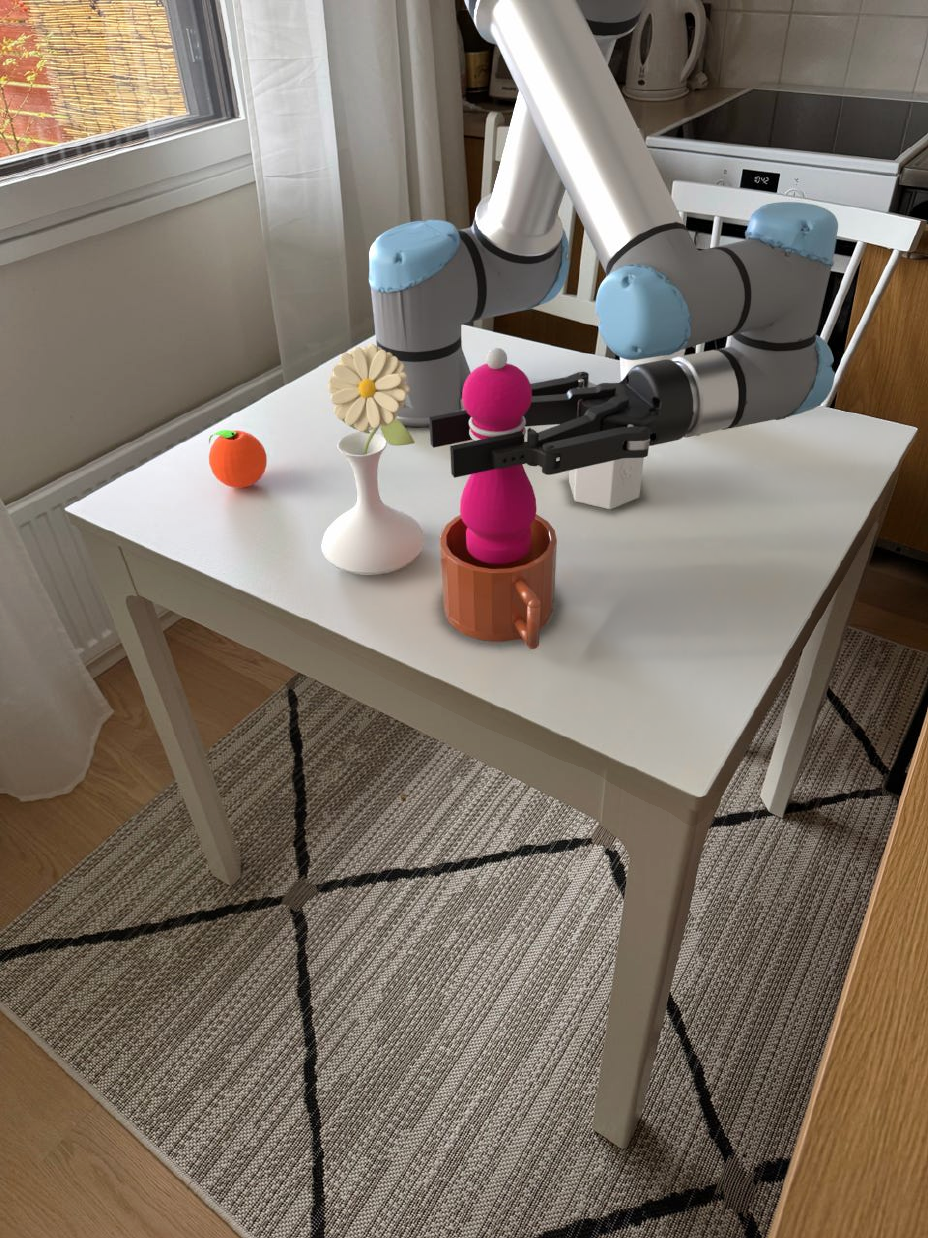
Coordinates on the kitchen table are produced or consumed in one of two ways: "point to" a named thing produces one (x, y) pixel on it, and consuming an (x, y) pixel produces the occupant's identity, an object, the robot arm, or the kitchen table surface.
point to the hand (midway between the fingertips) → (441, 446)
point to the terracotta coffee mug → (499, 587)
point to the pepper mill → (499, 496)
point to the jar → (607, 482)
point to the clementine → (237, 458)
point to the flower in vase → (370, 465)
